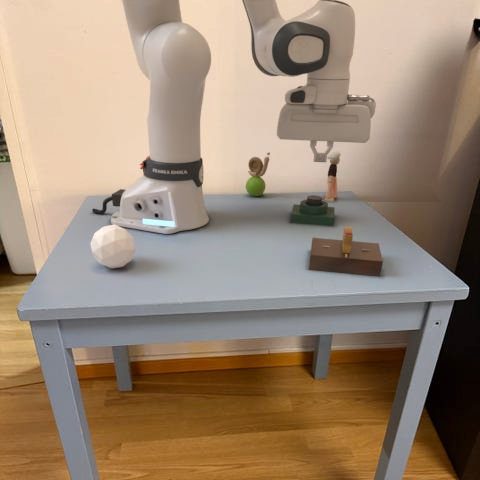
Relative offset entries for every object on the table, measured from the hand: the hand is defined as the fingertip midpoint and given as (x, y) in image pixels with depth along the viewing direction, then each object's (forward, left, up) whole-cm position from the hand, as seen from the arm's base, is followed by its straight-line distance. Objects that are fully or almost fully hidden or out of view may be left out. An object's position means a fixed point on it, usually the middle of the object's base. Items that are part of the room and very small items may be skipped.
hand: (319, 161), depth 103 cm
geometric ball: (-35, -36, -14) cm, 52 cm away
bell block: (0, 0, -14) cm, 14 cm away
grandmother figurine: (+4, +19, -14) cm, 24 cm away
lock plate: (+7, -25, -14) cm, 29 cm away
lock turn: (+7, -25, -10) cm, 28 cm away
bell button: (0, 0, -10) cm, 10 cm away
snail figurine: (-16, +16, -14) cm, 27 cm away
